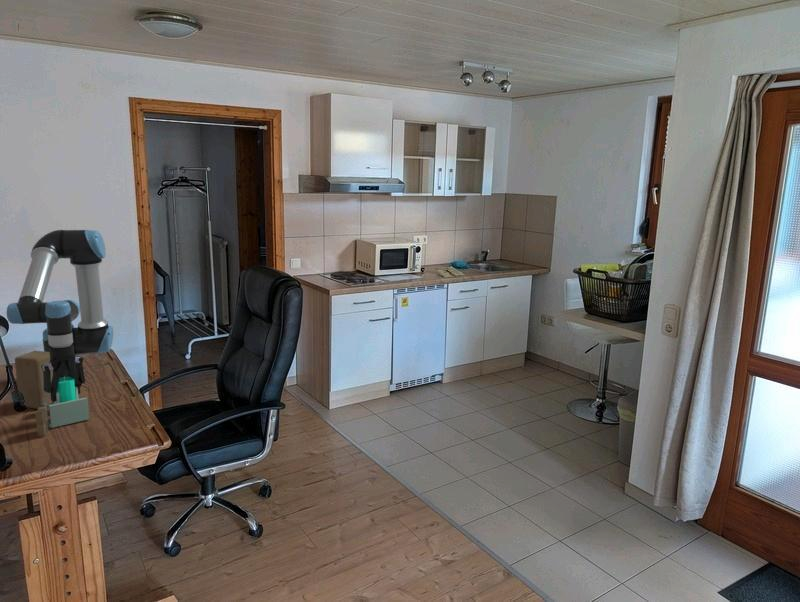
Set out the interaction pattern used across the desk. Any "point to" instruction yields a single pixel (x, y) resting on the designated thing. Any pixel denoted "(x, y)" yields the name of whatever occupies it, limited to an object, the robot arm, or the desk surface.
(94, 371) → the desk surface
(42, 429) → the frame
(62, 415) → the sage green plank
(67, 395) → the candle
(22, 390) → the wooden block
